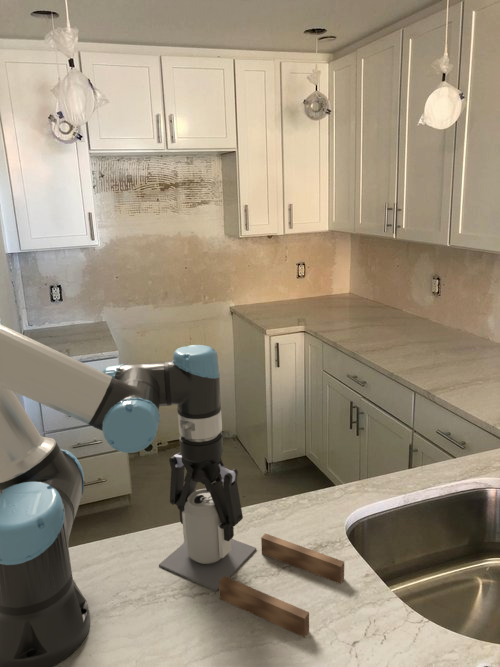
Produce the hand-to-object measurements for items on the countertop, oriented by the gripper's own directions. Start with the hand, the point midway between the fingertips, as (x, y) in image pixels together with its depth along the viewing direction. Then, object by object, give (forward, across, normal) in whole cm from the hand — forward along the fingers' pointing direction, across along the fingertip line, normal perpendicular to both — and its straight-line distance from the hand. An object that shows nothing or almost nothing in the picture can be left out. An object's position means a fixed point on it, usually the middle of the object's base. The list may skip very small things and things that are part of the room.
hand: (207, 545), depth 101 cm
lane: (+3, +16, 0) cm, 16 cm away
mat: (+3, 0, 0) cm, 3 cm away
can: (+2, 0, 0) cm, 2 cm away
